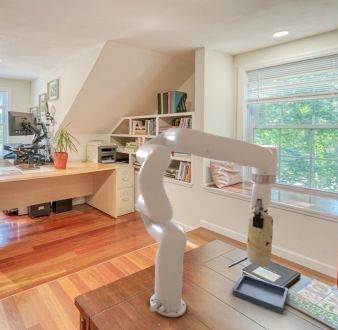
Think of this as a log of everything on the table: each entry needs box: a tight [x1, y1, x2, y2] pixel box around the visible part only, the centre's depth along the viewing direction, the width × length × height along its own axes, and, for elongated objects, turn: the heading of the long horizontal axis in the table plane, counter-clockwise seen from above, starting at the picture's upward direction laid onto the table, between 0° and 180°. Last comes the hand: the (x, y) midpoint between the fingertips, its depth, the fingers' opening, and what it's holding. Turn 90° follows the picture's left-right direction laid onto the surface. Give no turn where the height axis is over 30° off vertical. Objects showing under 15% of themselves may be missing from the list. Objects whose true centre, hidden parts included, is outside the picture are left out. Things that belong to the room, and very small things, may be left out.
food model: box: [246, 210, 274, 267], centre depth 97 cm, size 10×7×20 cm
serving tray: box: [232, 273, 289, 315], centre depth 100 cm, size 16×16×2 cm
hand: (259, 224), depth 97 cm, fingers closed on food model, 7 cm apart
